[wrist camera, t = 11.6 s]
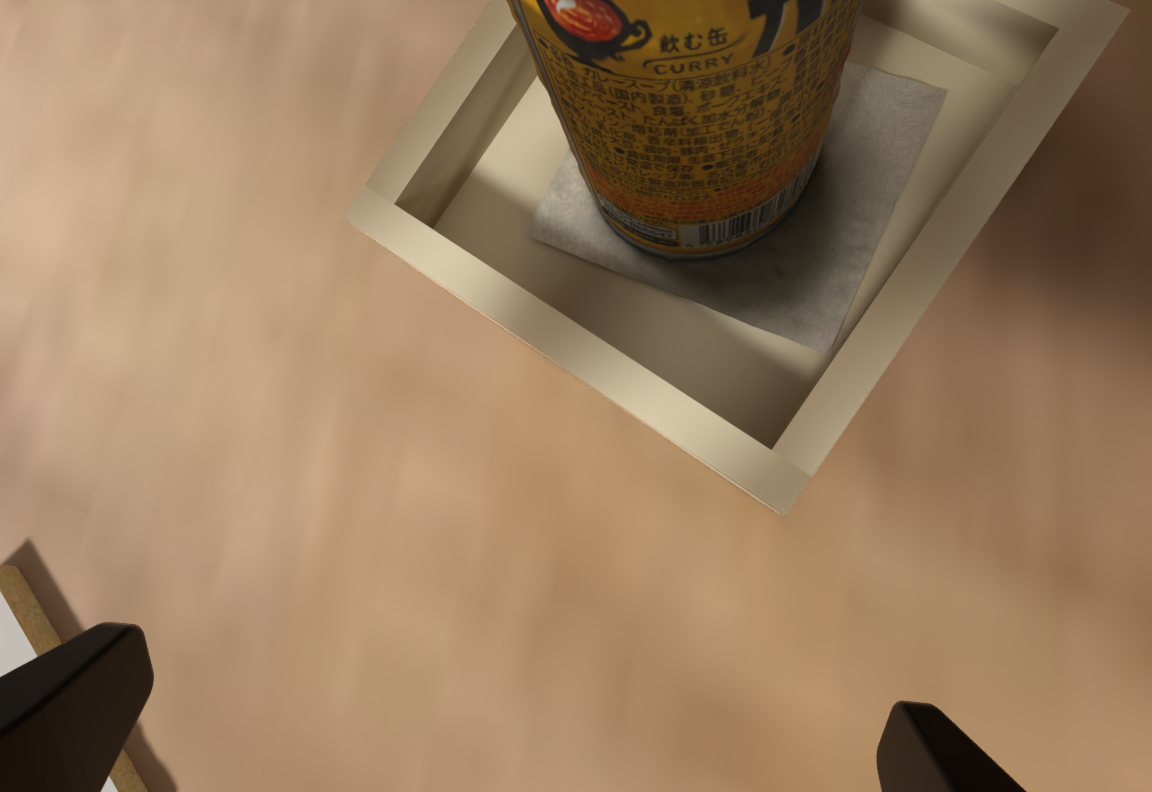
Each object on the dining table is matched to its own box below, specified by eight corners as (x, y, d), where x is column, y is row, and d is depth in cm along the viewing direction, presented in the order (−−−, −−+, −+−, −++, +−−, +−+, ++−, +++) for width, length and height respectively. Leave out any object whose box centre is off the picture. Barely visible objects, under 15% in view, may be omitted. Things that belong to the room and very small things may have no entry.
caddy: (1068, 83, 18) (1131, 9, 15) (775, 512, 18) (785, 515, 15) (640, -112, 21) (628, -202, 18) (392, 253, 21) (342, 217, 18)
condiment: (639, 3, 20) (520, -707, 8) (945, 95, 18) (1380, -675, 6) (527, 238, 19) (237, -147, 8) (825, 358, 17) (1040, 84, 6)
